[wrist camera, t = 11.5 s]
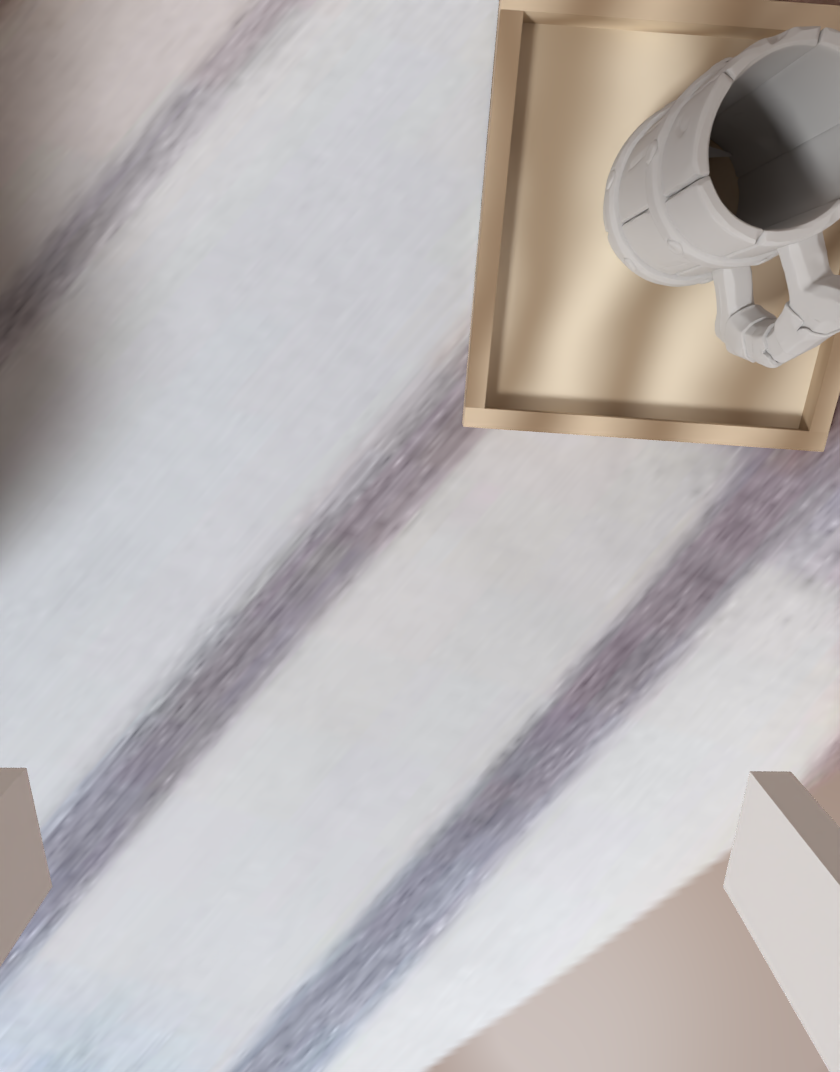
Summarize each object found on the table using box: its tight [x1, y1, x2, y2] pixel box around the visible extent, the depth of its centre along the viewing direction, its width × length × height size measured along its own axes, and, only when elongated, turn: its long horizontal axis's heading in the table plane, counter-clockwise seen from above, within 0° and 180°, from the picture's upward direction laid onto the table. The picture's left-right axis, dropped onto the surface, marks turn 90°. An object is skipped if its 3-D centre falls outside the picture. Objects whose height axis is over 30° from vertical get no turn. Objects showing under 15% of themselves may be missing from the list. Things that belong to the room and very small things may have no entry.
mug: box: [603, 26, 840, 368], centre depth 24 cm, size 8×12×12 cm, turn 25°
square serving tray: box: [462, 0, 840, 452], centre depth 30 cm, size 19×19×2 cm
